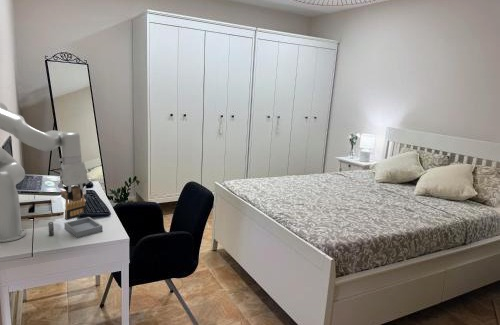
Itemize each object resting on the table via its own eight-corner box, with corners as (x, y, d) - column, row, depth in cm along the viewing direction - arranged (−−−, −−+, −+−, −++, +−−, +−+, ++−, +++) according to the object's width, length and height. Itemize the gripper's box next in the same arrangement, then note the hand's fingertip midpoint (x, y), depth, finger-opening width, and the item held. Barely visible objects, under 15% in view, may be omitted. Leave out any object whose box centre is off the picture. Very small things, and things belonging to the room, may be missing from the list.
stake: (50, 236, 160) (49, 224, 158) (48, 234, 161) (47, 222, 160) (54, 235, 161) (53, 223, 160) (53, 233, 162) (52, 221, 161)
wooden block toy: (69, 202, 156) (68, 189, 154) (61, 196, 162) (60, 184, 161) (84, 199, 160) (83, 186, 159) (75, 193, 167) (74, 181, 166)
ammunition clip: (67, 220, 178) (65, 197, 176) (64, 219, 179) (63, 196, 176) (86, 214, 187) (85, 192, 184) (84, 213, 188) (83, 192, 185)
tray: (76, 238, 159) (76, 232, 159) (64, 228, 168) (64, 222, 168) (102, 231, 168) (102, 225, 168) (89, 222, 177) (89, 216, 177)
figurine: (88, 205, 199) (87, 180, 195) (70, 209, 192) (69, 183, 189) (84, 202, 204) (83, 177, 200) (66, 205, 197) (65, 179, 194)
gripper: (55, 163, 146) (59, 205, 151) (94, 158, 158) (97, 196, 162) (48, 160, 151) (53, 200, 156) (87, 155, 163) (90, 192, 167)
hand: (75, 198), depth 159 cm, fingers closed on wooden block toy, 3 cm apart
